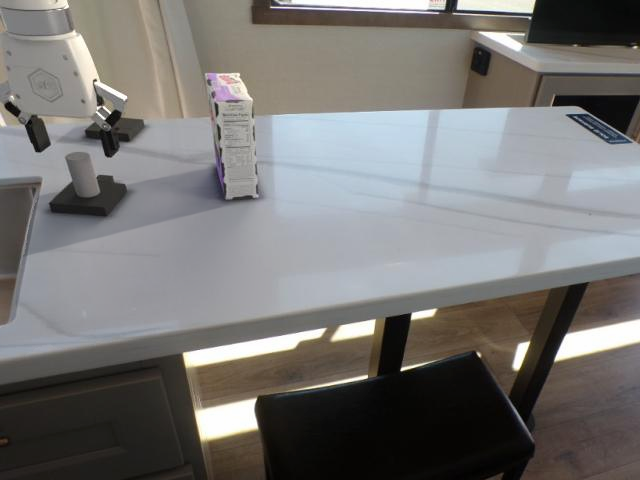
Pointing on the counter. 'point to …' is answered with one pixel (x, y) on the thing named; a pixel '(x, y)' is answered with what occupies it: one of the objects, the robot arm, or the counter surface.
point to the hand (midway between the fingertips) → (78, 151)
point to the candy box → (233, 134)
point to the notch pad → (119, 129)
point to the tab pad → (90, 203)
